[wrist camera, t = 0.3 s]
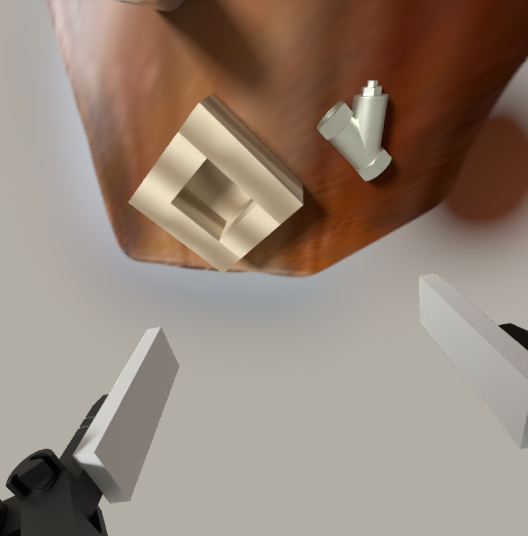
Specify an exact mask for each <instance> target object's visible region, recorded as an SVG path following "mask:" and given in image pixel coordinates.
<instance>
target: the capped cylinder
mask: <svg viewBox="0 0 528 536" xmlns="http://www.w3.org/2000/svg"><path fill="white" fill-rule="evenodd" d="M116 1H120V2H125V3H129V4H133V5H138V6H142V7H147V8H151V9H156V10H160V11H167V12H168V11H173V10H175V9H177V8H178V7H180V6H181V5H182V3H183V2H184V0H116Z"/></svg>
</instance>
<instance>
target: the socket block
mask: <svg viewBox="0 0 528 536" xmlns="http://www.w3.org/2000/svg"><path fill="white" fill-rule="evenodd" d="M128 203H130V204H131V205H132V206H134V207H135V208H136V209H138V210H139V211H140V212H142V213H143V214H144V215H146V216H147V217H148V218H150V219H151V220H152V221H154V222H155V223H156V224H158V225H159V226H161V227H162V228H163V229H165V230H166V231H167V232H169V233H170V234H171V235H173V236H174V237H175V238H177V239H178V240H179V241H181V242H182V243H183V244H185V245H186V246H187V247H189V248H190V249H191V250H193V251H194V252H195V253H197V254H198V255H199V256H201V257H202V258H203V259H205V260H206V261H207V262H209V263H210V264H211V265H213V266H214V267H215V268H217V269H218V270H219V271H221V272H222V273H225V272H226V271H227V270H228V269H229V268H230V267H232V266H233V265H234V264H235V263H236V262H237V261H239V260H240V259H241V258H242V257H243V256H244V255H246V254H247V253H248V252H249V251H250V250H251V249H253V248H254V247H255V246H256V245H257V244H258V243H260V242H261V241H262V240H263V239H264V238H265V237H267V236H268V235H269V234H270V233H271V232H272V231H274V230H275V229H276V228H277V227H278V226H279V225H281V224H282V223H283V222H284V221H285V220H286V219H288V218H289V217H290V216H291V215H292V214H293V213H295V212H296V211H297V210H298V209H299V208H300V207H302V206H303V184H302V183H301V182H300V181H299V179H298V178H297V177H296V176H295V175H294V174H293V173H292V172H291V171H290V170H289V169H288V168H287V167H286V166H285V165H284V164H283V163H282V162H281V161H280V160H279V159H278V158H277V157H276V156H275V155H274V154H273V153H272V152H271V151H270V150H269V149H268V148H267V147H266V146H265V145H264V144H263V143H262V142H261V141H260V140H259V139H258V138H257V137H256V136H255V135H254V133H253V132H252V131H251V130H250V129H249V128H248V127H247V126H246V125H245V124H244V123H243V122H242V121H241V120H240V119H239V118H238V117H237V116H236V115H235V114H234V113H233V112H232V111H231V110H230V109H229V108H228V107H227V106H226V105H225V104H224V103H223V102H222V101H221V100H220V99H219V98H218V97H217V96H216V95H215V94H214V93H213V94H212V95H210V96H208V97H207V98H205V99H204V100H202V101H200V102H199V103H198V105H197V106H196V107H195V109H194V110H193V112H192V113H191V114H190V116H189V117H188V119H187V120H186V121H185V123H184V124H183V126H182V127H181V129H180V130H179V131H178V133H177V134H176V136H175V137H174V138H173V140H172V141H171V143H170V144H169V145H168V147H167V148H166V150H165V151H164V153H163V154H162V155H161V157H160V158H159V160H158V161H157V162H156V164H155V165H154V167H153V168H152V170H151V171H150V172H149V174H148V175H147V177H146V178H145V179H144V181H143V182H142V184H141V185H140V186H139V188H138V189H137V191H136V192H135V194H134V195H133V196H132V198H131V199H130V201H129V202H128Z"/></svg>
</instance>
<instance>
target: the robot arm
mask: <svg viewBox="0 0 528 536" xmlns="http://www.w3.org/2000/svg"><path fill="white" fill-rule="evenodd" d="M419 312H420V324H421V325H422V326H423V328H424V329H425V330H426V331H427V332H428V334H429V335H430V336H431V338H432V339H433V340H434V341H435V342H436V344H437V345H438V346H439V347H440V349H441V350H442V351H443V353H444V354H445V355H446V356H447V358H448V359H449V360H450V361H451V362H452V364H453V365H454V367H455V368H456V369H457V370H458V372H459V373H460V374H461V375H462V377H463V378H464V379H465V380H466V382H467V383H468V384H469V385H470V387H471V388H472V389H473V390H474V392H475V393H476V394H477V395H478V397H479V398H480V399H481V400H482V402H483V403H484V404H485V405H486V407H487V408H488V409H489V410H490V412H491V413H492V414H493V415H494V417H495V418H496V419H497V420H498V422H499V423H500V424H501V425H502V427H503V428H504V429H505V431H506V432H507V433H508V434H509V435H510V437H511V438H512V439H513V440H514V442H515V443H516V444H517V446H518V447H519V448H520V449H523V448H528V331H527V330H525V329H522V328H520V327H518V326H516V325H513V324H511V323H509V324H502V325H497V324H495V323H494V322H493V321H492V320H491V319H490V318H488V317H487V316H486V315H485V314H484V313H482V312H481V311H480V310H479V309H478V308H476V307H475V306H474V305H473V304H472V303H471V302H469V301H468V300H467V299H466V298H465V297H463V296H462V295H461V294H460V293H459V292H457V291H456V290H455V289H454V288H453V287H452V286H450V285H449V284H448V283H447V282H446V281H445V280H443V279H442V278H441V277H440V276H438V275H437V274H436V273H433V274H428V275H423V276H419ZM178 368H179V364H178V362H177V360H176V358H175V356H174V354H173V351H172V349H171V347H170V345H169V343H168V341H167V339H166V336H165V334H164V332H163V330H162V328H161V327H158V328H153V329H148V330H147V331H146V333H145V334H144V336H143V338H142V340H141V341H140V343H139V344H138V346H137V348H136V350H135V351H134V353H133V355H132V356H131V358H130V360H129V361H128V363H127V365H126V366H125V368H124V370H123V371H122V373H121V375H120V376H119V378H118V380H117V382H116V383H115V385H114V386H113V388H112V390H111V391H110V393H109V394H107V395H103V396H102V397H101V398H100V399H99V400H98V401H97V402H96V403H95V404H94V405H93V406H92V408H91V410H90V411H89V413H88V415H87V416H86V419H85V420H84V421H83V422H82V424H81V425H80V429H78V430H77V432H76V433H75V435H74V437H73V438H72V440H71V441H70V443H69V445H68V446H67V448H66V449H65V451H64V453H63V454H62V456H61V457H60V459H58V457H57V456H56V455H55V454H54V452H53V451H52V450H50V449H43V450H39V451H37V452H35V453H33V454H31V455H30V456H28V457H27V458H26V459H24V460H23V461H22V462H21V463H20V464H19V465H18V466H17V467H16V468H15V469H14V470H13V471H12V473H11V475H10V476H9V478H8V480H7V483H6V487H7V488H8V489H9V490H10V491H11V492H12V493H13V494H14V495H15V496H13V497H11V498H9V499H7V500H4V501H2V500H1V499H0V536H108V534H107V531H106V526H105V523H104V520H103V515H102V511H101V509H100V508H99V506H98V503H99V501H100V499H101V497H102V495H104V496H105V498H106V499H107V500H108V501H109V503H116V502H124V501H130V499H131V496H132V494H133V491H134V488H135V485H136V483H137V480H138V477H139V474H140V472H141V469H142V466H143V464H144V461H145V458H146V455H147V453H148V450H149V447H150V445H151V442H152V439H153V436H154V434H155V431H156V428H157V426H158V422H159V420H160V417H161V415H162V411H163V409H164V407H165V403H166V401H167V398H168V396H169V393H170V390H171V387H172V384H173V382H174V379H175V376H176V374H177V371H178Z"/></svg>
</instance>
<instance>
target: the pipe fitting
mask: <svg viewBox="0 0 528 536" xmlns="http://www.w3.org/2000/svg"><path fill="white" fill-rule="evenodd" d="M377 82H378V80H369V81H367V86H365V87H362V90H361V94H359V95H354V96H353V106H352V111H351V110H350V109H349V107H348V106H347V105H346V104H345V103H344V102H343V101H340V102H338V103H337V104H336V105H334V106H333V107H332V108H331V109H330V110H329V111H328V112H327V113H326V114H325V116H324V117H323V118H322V119H321V121H320V122H319V124H318V125H317V129H318V131H319V132H320V133H321V134H322V135H323V136H324V137H325V138H326V139H327V140H329V141H330V142H331V143H332V145H333V146H334V147H335V148H336V149H337V150H338V151H339V152H340V153H341V154H342V155H343V156H344V157H345V158H346V160H347V161H348V162H349V163H350V164H351V165H352V166H353V167H354V168H355V170H356V171H357V172H358V174H359V175H360V176H361V177H362V178H363V179H364V180H365V181H369V180H371V179H373V178H375V177H377V176H378V175H379V174H381V173H382V172H383V171H384V170H385V169H386V167H387V166H388V165H389V163H390V161H391V159H392V158H391V157H390V156H389V154H388V153H387V152H386V151H385V150H384V149H383V148H382V147H381V140H382V133H383V127H384V120H385V114H386V108H387V101H388V94H381V91H382V86H377Z"/></svg>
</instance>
